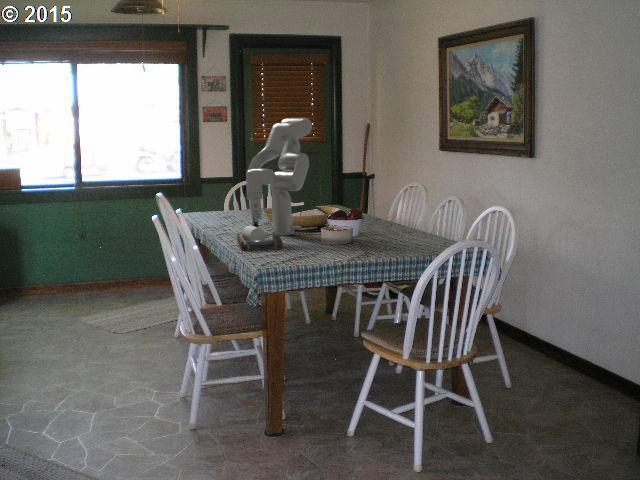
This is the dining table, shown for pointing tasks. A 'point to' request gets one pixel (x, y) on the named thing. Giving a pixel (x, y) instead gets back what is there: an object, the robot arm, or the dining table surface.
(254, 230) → the mug
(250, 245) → the frame
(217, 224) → the dining table surface
